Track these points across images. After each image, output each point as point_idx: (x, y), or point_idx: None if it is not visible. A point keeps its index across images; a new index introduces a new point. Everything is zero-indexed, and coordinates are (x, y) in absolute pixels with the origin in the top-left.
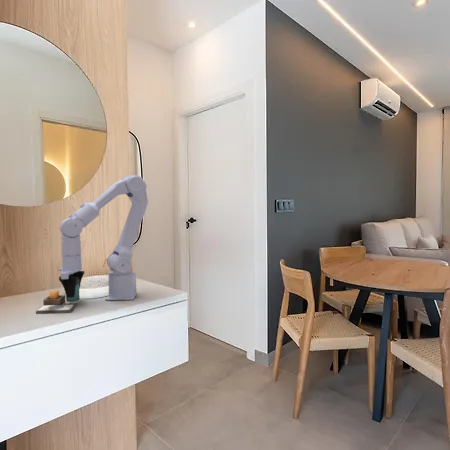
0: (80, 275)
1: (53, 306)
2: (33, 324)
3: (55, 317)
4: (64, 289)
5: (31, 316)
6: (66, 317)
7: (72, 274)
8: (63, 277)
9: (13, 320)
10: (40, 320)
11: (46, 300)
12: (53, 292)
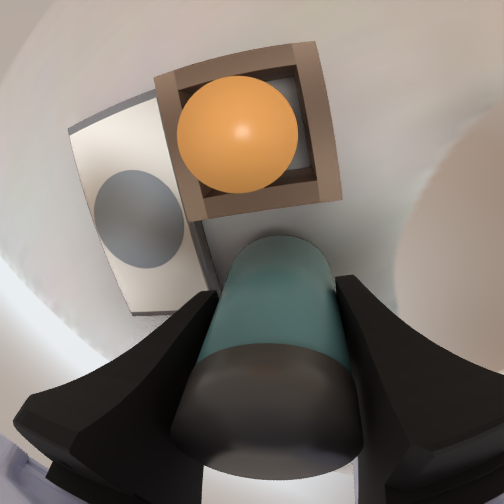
0: (362, 496)
1: (140, 194)
2: (9, 219)
3: (73, 265)
4: (149, 335)
5: (50, 135)
6: (92, 310)
7: (379, 485)
8: (8, 458)
9: (13, 99)
10: (33, 219)
11: (159, 105)
12: (196, 146)
